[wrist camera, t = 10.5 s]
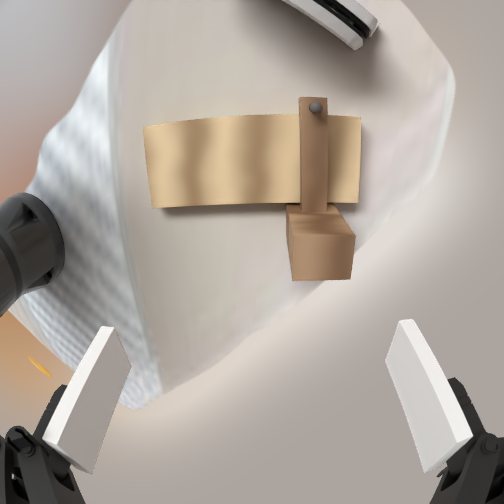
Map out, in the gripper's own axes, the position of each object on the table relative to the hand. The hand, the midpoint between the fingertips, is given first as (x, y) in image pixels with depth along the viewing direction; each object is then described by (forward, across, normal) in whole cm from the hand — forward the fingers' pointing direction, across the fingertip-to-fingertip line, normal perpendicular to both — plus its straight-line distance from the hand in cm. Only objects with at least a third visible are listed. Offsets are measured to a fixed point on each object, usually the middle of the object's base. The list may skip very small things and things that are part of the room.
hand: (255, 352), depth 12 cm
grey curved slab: (+22, +5, +23) cm, 33 cm away
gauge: (+21, +6, +4) cm, 22 cm away
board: (+22, 0, +5) cm, 22 cm away
